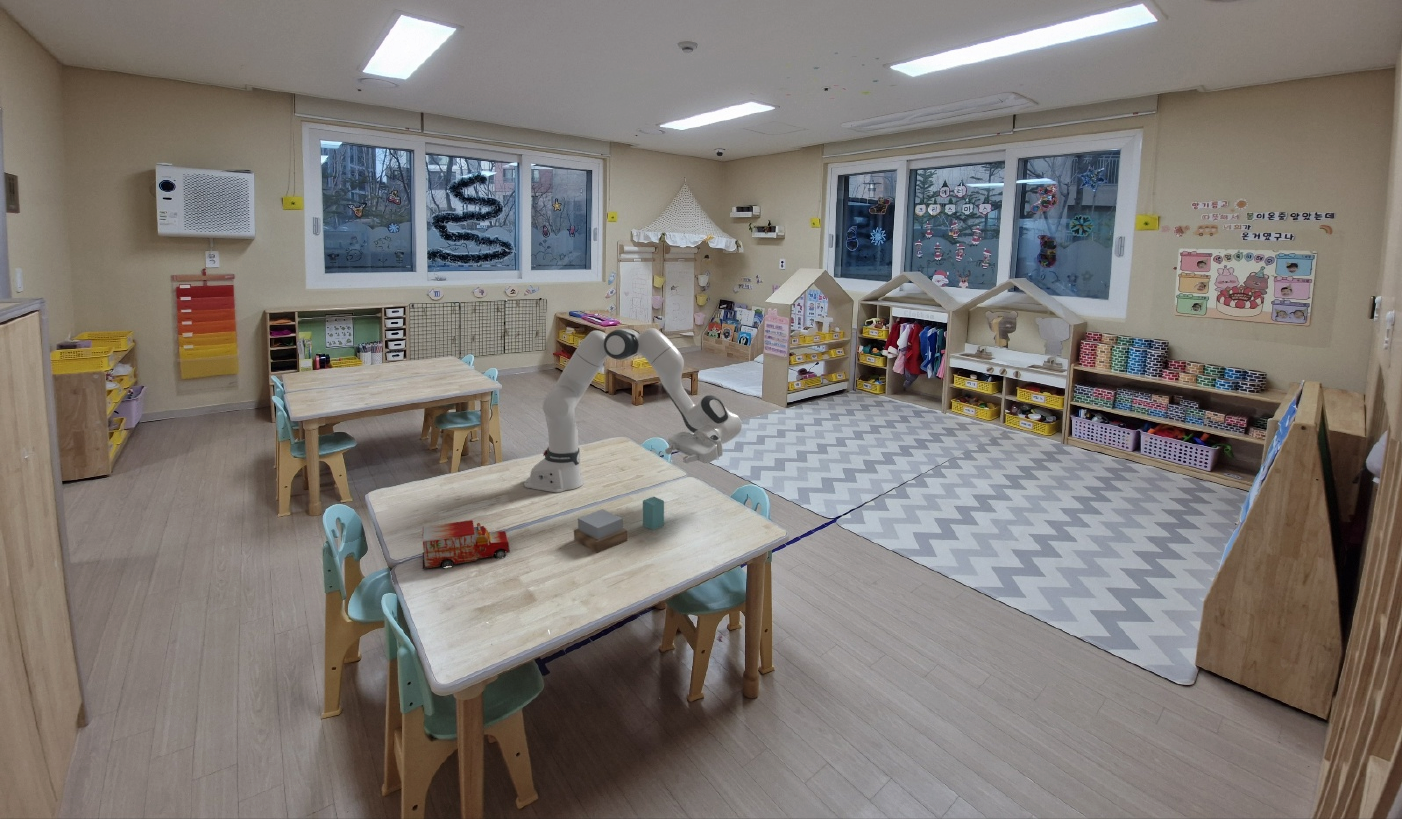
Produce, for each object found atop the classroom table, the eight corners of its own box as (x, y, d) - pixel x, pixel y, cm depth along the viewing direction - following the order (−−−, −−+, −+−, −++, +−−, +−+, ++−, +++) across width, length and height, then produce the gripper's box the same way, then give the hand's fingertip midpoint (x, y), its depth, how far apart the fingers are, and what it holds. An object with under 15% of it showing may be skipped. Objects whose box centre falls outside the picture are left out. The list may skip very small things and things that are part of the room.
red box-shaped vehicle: (511, 559, 200) (509, 528, 197) (422, 572, 191) (419, 541, 189) (507, 543, 210) (505, 514, 207) (423, 556, 201) (420, 525, 198)
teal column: (642, 525, 224) (642, 500, 221) (654, 520, 227) (653, 496, 225) (652, 530, 220) (652, 504, 218) (663, 525, 224) (663, 500, 221)
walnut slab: (574, 541, 212) (573, 529, 211) (604, 530, 221) (604, 518, 220) (597, 554, 204) (596, 542, 203) (627, 541, 213) (627, 530, 212)
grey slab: (578, 529, 211) (577, 518, 210) (602, 520, 218) (602, 509, 217) (598, 540, 205) (597, 528, 204) (622, 529, 212) (622, 518, 211)
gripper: (684, 424, 240) (655, 439, 232) (724, 441, 225) (693, 457, 218) (686, 439, 242) (657, 455, 235) (725, 457, 228) (696, 474, 220)
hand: (675, 456), depth 226 cm, fingers open, 8 cm apart
